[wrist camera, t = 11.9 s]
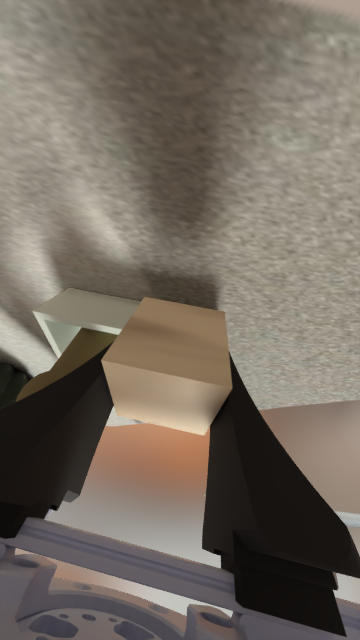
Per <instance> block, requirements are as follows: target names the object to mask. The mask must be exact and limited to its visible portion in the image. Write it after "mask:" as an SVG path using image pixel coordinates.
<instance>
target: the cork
mask: <svg viewBox="0 0 360 640" xmlns="http://www.w3.org/2000/svg"><path fill="white" fill-rule="evenodd" d="M117 336H118V335H117V334H112V333H107V332H102V331H98V330H93V329H88V328H83V327H82V328H81V329H80V330H79V332H78V333H77V334H76V336H75V337H74V339H73V340H72V341H71V343H70V344H69V345H68V347H67V348H66V349H65V351H64V352H63V353H62V355H61V356H60V358H59V359H58V360H57V362H56V363H55V364H54V366H53V367H52V368H51V370H50V371H47V372H44V373H41V374H39V375H37V376H36V377H34V378H33V379H31V380H30V381H29V382H28V383H27V384H26V385H25V386H24V387H23V388H22V390H21V392H20V393H19V395H18V397H17V400H16V402H17V401H19V400H21V399H23V398H25V397H27V396H29V395H31V394H33V393H35V392H37V391H39V390H41V389H43V388H44V387H46V386H48V385H50V384H52V383H53V382H55V381H57V380H59V379H60V378H62V377H64V376H65V375H67V374H68V373H70V372H72V371H73V370H75V369H76V368H78V367H79V366H81V365H82V364H84V363H85V362H87V361H88V360H89V359H91V358H92V357H94V356H95V355H96V354H98V353H99V352H100V351H102V350H103V349H104V348H106V347H107V346H108V345H109V344H111V343H112V342H113V341H114V340H115V339H116V338H117Z"/></svg>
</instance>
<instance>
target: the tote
mask: <svg viewBox="0 0 360 640" xmlns="http://www.w3.org/2000/svg"><path fill="white" fill-rule="evenodd" d="M140 303H141V301H136V300H131V299H126V298H121V297H115V296H110V295H105V294H100V293H95V292H90V291H84V290H79V289H74V288H68V289H66V290H65V291H63V292H62V293H60V294H58V295H57V296H55V297H54V298H52V299H50V300H49V301H47V302H46V303H44V304H42V305H41V306H39V307H38V308H36V309H35V310H33V311H32V312H33V313H34V315H35V317H36V319H37V321H38V323H39V324H40V326H41V328H42V330H43V332H44V334H45V335H46V337H47V339H48V341H49V343H50V345H51V346H52V348H53V350H54V352H55V354H56V356H57V357H58V359H59V358H60V356H61V355H62V353H63V352H64V351H65V349H66V348H67V347H68V345H69V344H70V343H71V341H72V340H73V339H74V337H75V336H76V334H77V333H78V332H79V330H80V329H81V328H82V327H83V328H88V329H93V330H98V331H102V332H107V333H112V334H117V335H119V333H120V332H121V330H122V329H123V328H124V326H125V325H126V323H127V322H128V320H129V319H130V317H131V316H132V314H133V313H134V312H135V310H136V309H137V307H138V306H139V304H140Z"/></svg>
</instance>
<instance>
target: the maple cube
mask: <svg viewBox="0 0 360 640" xmlns="http://www.w3.org/2000/svg"><path fill="white" fill-rule="evenodd" d="M101 362H102V365H103V369H104V372H105V375H106V379H107V382H108V386H109V389H110V393H111V396H112V400H113V403H114V407H115V410H116V413H117V415H118V416H122V417H126V418H131V419H135V420H139V421H143V422H148V423H152V424H156V425H161V426H165V427H169V428H174V429H178V430H182V431H186V432H191V433H195V434H199V435H204V434H205V433H206V431H207V430H208V428H209V426H210V425H211V423H212V421H213V420H214V418H215V416H216V415H217V413H218V411H219V410H220V408H221V406H222V405H223V403H224V401H225V400H226V398H227V397H228V395H229V393H230V392H231V390H232V379H231V369H230V359H229V349H228V340H227V330H226V320H225V312H223V311H218V310H213V309H207V308H202V307H197V306H191V305H186V304H181V303H176V302H170V301H165V300H160V299H154V298H149V297H144V298H143V300H142V301H141V303H140V304H139V306H138V307H137V309H136V310H135V312H134V313H133V314H132V316H131V317H130V319H129V320H128V322H127V323H126V325H125V326H124V328H123V329H122V330H121V332H120V333H119V335H118V336H117V338H116V339H115V341H114V342H113V344H112V345H111V346H110V348H109V349H108V351H107V352H106V354H105V355H104V357H103V358H102V360H101Z"/></svg>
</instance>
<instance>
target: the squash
mask: <svg viewBox="0 0 360 640" xmlns="http://www.w3.org/2000/svg"><path fill="white" fill-rule="evenodd" d="M29 381H30V380H29V379H27V376H26V374H25V373H23V372H19V371H18V372H14V368H13V367H12V366H10V365H7V364H1V365H0V409H3V408H5V407H7V406H9V405H11V404H13V403H15V402H16V400H17V397H18V395H19V393H20V392H21V390H22V388H23V387H24V386H25V385H26V384H27V383H28V382H29Z"/></svg>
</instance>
